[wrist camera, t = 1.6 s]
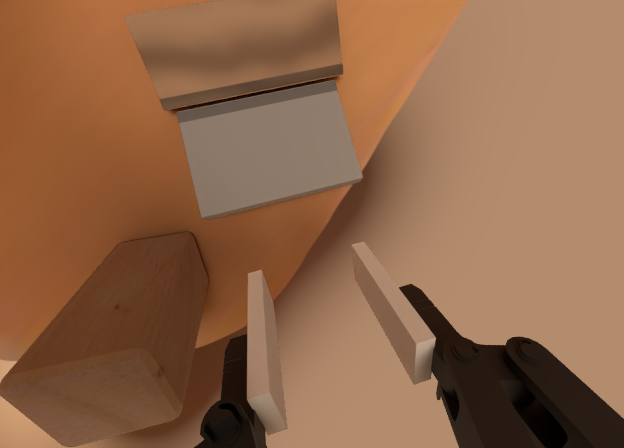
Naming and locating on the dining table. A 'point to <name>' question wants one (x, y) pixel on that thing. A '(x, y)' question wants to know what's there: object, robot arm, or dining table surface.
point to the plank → (268, 149)
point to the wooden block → (116, 345)
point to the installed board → (236, 47)
